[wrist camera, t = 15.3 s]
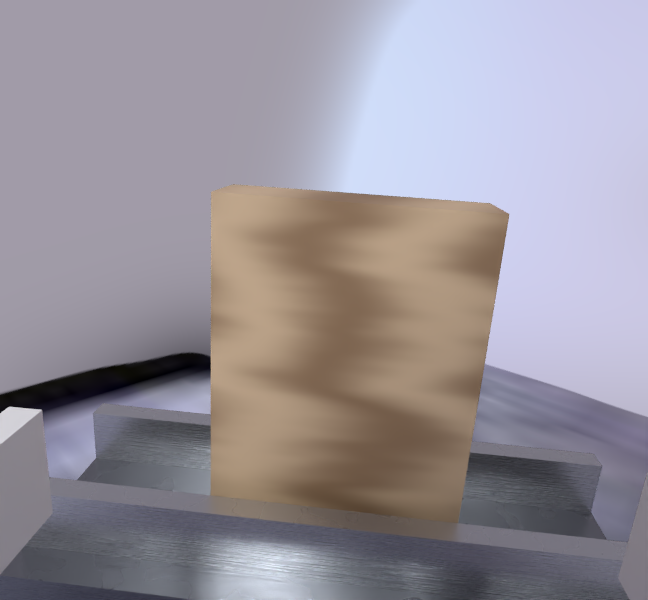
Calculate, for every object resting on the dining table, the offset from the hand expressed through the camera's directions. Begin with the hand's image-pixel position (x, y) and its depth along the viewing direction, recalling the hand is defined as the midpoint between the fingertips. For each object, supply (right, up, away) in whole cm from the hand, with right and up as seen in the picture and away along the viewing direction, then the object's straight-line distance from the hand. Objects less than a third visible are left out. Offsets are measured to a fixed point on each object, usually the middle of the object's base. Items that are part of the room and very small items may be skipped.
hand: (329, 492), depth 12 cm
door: (0, -5, +12) cm, 13 cm away
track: (0, -7, +12) cm, 14 cm away
